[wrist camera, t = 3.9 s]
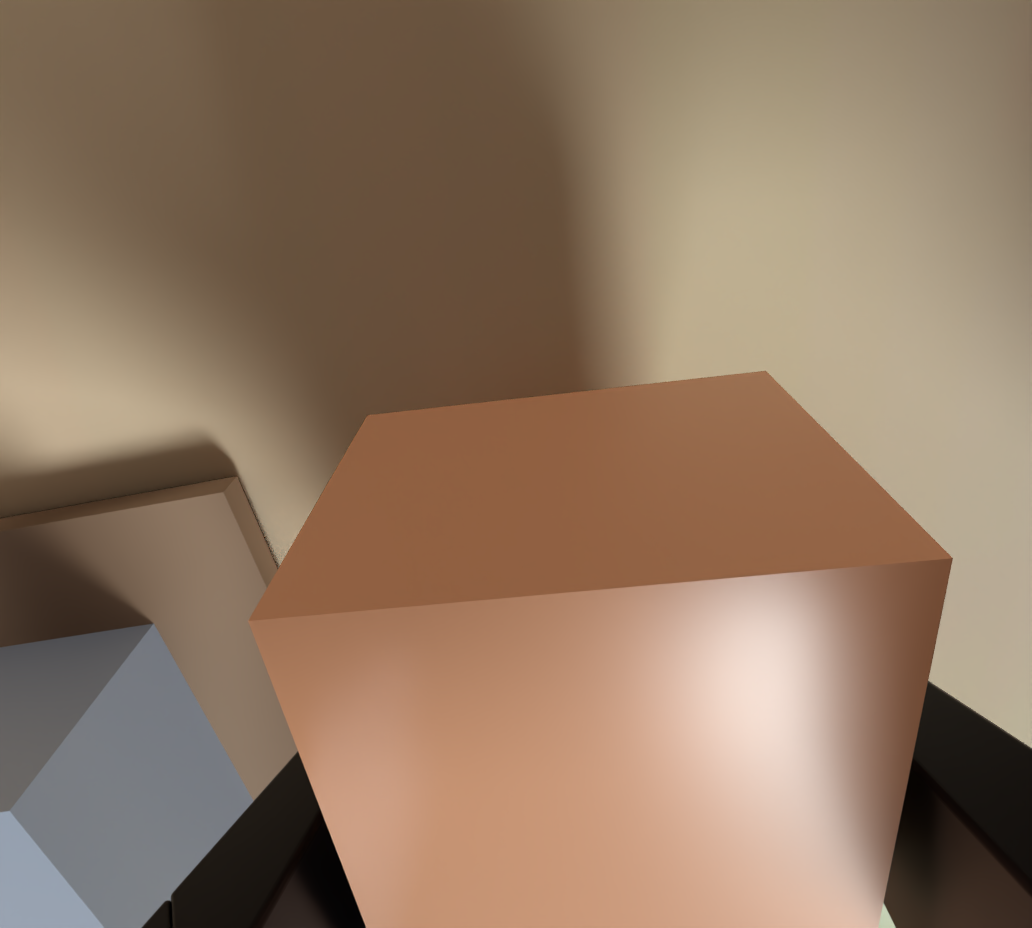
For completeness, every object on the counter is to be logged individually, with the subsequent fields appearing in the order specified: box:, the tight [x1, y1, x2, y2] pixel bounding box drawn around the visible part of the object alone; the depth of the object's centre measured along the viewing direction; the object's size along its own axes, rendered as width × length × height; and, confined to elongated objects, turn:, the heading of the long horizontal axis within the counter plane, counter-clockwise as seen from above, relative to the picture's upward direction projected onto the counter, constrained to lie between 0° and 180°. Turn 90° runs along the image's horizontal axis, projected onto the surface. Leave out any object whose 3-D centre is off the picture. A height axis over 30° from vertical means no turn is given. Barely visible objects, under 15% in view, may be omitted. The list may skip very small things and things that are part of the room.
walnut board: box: [0, 476, 298, 801], centre depth 15 cm, size 10×12×1 cm
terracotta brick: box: [248, 371, 953, 928], centre depth 8 cm, size 5×7×4 cm
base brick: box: [0, 624, 253, 928], centre depth 13 cm, size 5×7×4 cm
